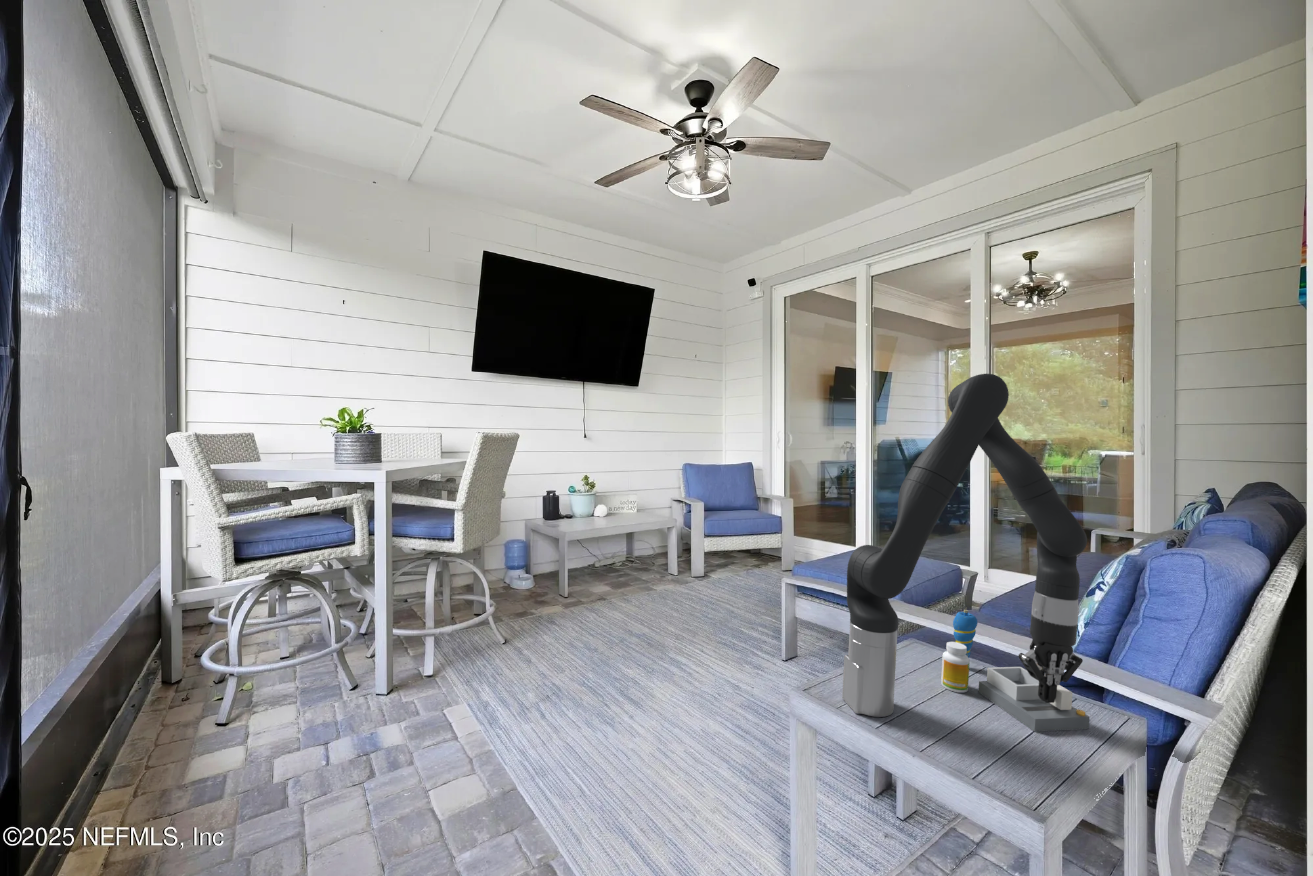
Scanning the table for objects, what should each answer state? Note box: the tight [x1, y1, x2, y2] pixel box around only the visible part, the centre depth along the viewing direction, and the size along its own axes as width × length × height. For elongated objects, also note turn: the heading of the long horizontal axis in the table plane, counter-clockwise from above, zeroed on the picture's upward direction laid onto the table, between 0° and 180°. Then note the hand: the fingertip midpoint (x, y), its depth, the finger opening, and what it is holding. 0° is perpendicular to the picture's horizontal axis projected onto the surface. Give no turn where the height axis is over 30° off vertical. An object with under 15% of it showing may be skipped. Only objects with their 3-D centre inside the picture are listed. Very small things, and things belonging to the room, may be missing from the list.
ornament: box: [952, 607, 978, 659], centre depth 131 cm, size 5×5×15 cm
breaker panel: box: [978, 666, 1090, 733], centre depth 112 cm, size 12×15×6 cm
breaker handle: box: [1050, 684, 1073, 710], centre depth 109 cm, size 2×3×4 cm
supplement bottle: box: [940, 641, 971, 694], centre depth 121 cm, size 5×5×10 cm
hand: (1046, 700), depth 108 cm, fingers closed
